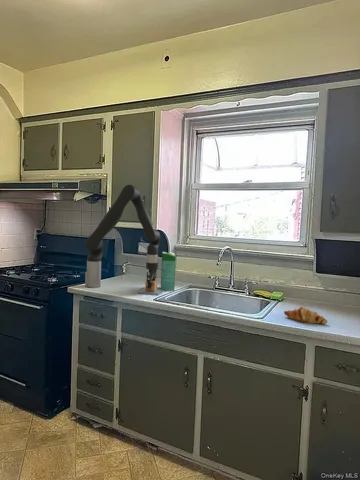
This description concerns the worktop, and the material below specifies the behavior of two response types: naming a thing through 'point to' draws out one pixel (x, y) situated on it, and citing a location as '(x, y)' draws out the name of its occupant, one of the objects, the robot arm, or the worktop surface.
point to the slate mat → (150, 292)
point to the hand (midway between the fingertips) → (151, 286)
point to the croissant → (305, 316)
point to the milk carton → (168, 271)
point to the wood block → (151, 286)
